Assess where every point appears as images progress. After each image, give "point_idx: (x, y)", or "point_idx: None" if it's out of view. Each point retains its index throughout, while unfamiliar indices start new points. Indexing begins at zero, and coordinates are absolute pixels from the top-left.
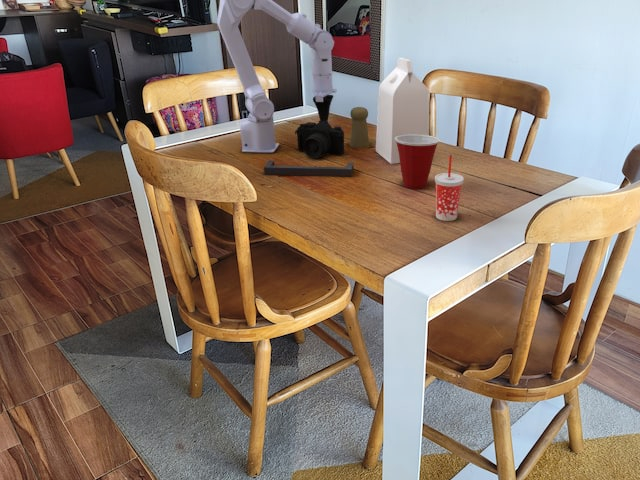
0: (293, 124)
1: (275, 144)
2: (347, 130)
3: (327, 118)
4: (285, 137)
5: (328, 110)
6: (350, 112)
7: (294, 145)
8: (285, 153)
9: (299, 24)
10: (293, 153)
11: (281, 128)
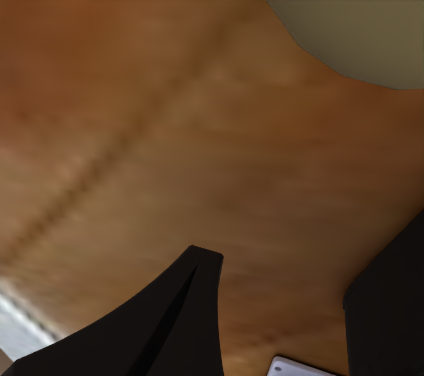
0: (16, 266)
1: (290, 372)
2: (35, 47)
3: (220, 268)
4: None
5: (216, 326)
6: (401, 89)
7: (288, 313)
8: None
9: None
10: None
11: (70, 305)
